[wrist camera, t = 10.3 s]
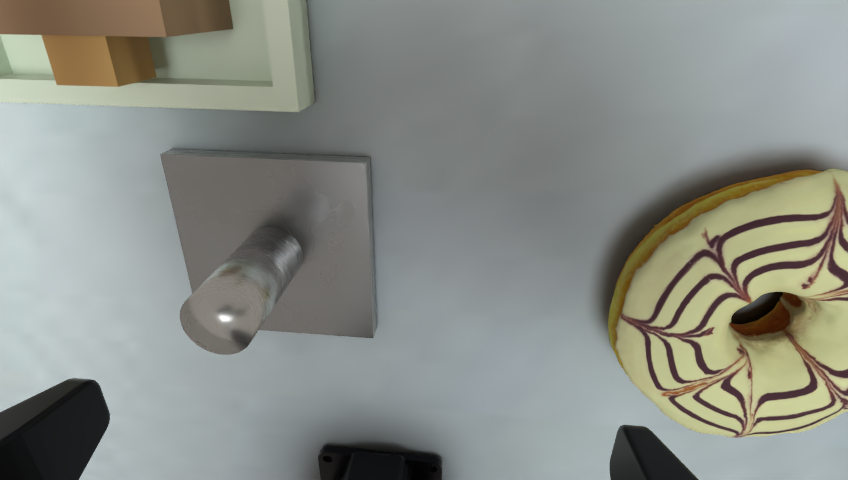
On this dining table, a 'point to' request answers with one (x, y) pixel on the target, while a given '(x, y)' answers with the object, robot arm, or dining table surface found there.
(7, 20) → the brown piece
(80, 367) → the dining table surface
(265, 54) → the tray
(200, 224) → the stake
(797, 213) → the decorated donut
